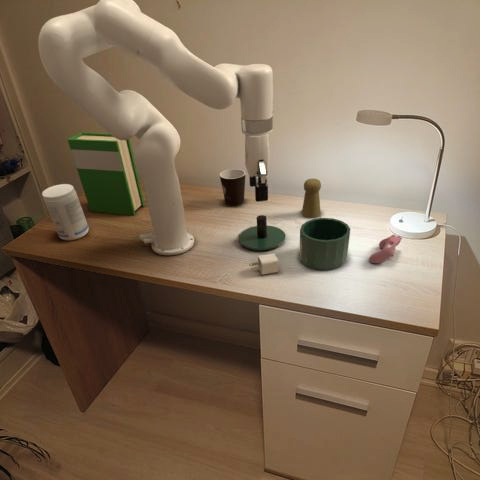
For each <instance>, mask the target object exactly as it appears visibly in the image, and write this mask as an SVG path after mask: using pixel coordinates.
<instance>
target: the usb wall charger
mask: <svg viewBox="0 0 480 480" xmlns="http://www.w3.org/2000/svg"><path fill="white" fill-rule="evenodd" d="M248 266H249V267H251V268H250V270H251V271H256V270H259V272H260V275H261V276H263V275H269V274H275V273H278V272H279V259H278V257H277V255H276V253H267V254H262V255H258V256H257V261H256V262H251V263H249V265H248Z"/></svg>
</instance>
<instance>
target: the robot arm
mask: <svg viewBox="0 0 480 480" xmlns="http://www.w3.org/2000/svg"><path fill="white" fill-rule="evenodd" d="M37 45H38V46H37V47H38V55H39V58H40V61H41V63H42V66H43V68H44V70H45V72H46V74H47V75H48V77H49V78H50V79H51V81H53V83H54V84H55V85H56V86H57V87H58V88H59V89H60V90H61V91H63V92H64V93H65V94H66V96H68V97H69V98H70V99H72V100H73V101H74V102H75V103H76V104H78V106H79V107H81V109H83V111H84V112H85V113H87V114H88V116H90V117H91V118H92V119H93V120H94V121H95V122H96V123H98V124H99V125H100V126H101V127H102V128H103V129H104V130H105V131H106V133H110V134H111V135H112V136H113V137H115V138H116V139H119V140H128V139H130V140H131V139H132V138H133V137H136V138H137V139H138V141H137V143H136V145H135V148H134V160H135V165H136V169H137V172H138V173H139V176H140V178H141V182H142V186H143V190H144V194H145V198H146V203H147V207H148V211H149V216H150V221H151V225H152V228H153V231H150V232H149V233H140V234H139V241H140V242H143V244H151V249H152V251H153V252H154V253H156V254H158V255H160V256H161V255H162V256H175V255H180V254H183V253H185V252H187V251H189V250H190V249H192V248H193V247H194V245H195V237H194V236H193V235H192V234H191V233H190V232H188V225H187V221H186V214H185V208H184V202H183V196H182V191H181V185H180V181H179V176H178V173H177V169H176V166H175V159H176V157H177V155H178V153H179V150H180V148H181V137H180V134H179V132H178V131H177V129H176V128H175V127H174V125H173V124H172V123H171V122H170V121H169V120H168V119H167V118H166V117H165V116H164V115H163V114H162V113H161V112H160V111H159V110H158V108H156V107H155V106H154V105H153V104H152V103H151V102H150V101H149V100H148V99H147V98H146V97H144V96H143V95H142V94H140V93H139V92H137V91H135V90H132V89H123V90H119V91H118V90H116V89H115V88H114V87H113V86H112V85H111V84H110V83H109V82H108V81H107V80H106V79H105V78H104V77H103V76H102V75H101V74H99V73H98V72H97V71H95V70H94V69H93V68H91V67H90V66H88V65H87V64H86V63H85V62H84V60H83V59H85V58H88V57H90V56H92V55H94V54H97V53H99V52H102V51H106V50H108V49H111V48H113V47H114V48H115V49H117V50H119V51H121V52H122V53H124V54H126V55H127V56H130V57H131V58H134V59H136V60H137V61H139V62H141V63H142V64H144V65H146V66H148V67H149V68H151V69H153V70H155V71H156V72H158V73H159V74H160V75H161V76H162V77H163V78H164V79H166V80H167V81H168V82H169V83H171V84H172V85H173V86H174V87H176V89H178V90H179V91H181V92H182V93H183V94H185V95H187V96H189V97H190V98H192V99H194V100H196V101H198V102H199V103H201V104H203V105H205V106H207V107H209V108H211V109H214V110H215V109H216V110H226V109H227V108H229V107H231V106H232V105H233V104H234V102H235V100H236V99H237V98H238V99H239V101H240V120H241V122H240V123H241V133H242V134H243V135H244V165H245V168H246V172H247V174H248V177H249V187H250V188H253V187H254V198H255V199H254V200H255V202H267V201H268V200H269V185H268V183H269V182H268V175H269V174H270V138H269V135H270V134H271V133H273V131H274V105H273V104H274V73H273V72H274V71H273V69H272V67H271V66H270V65H269V64H265V63H252V64H247V65H242V64H235V63H234V64H233V63H227V62H226V63H219V64H217V65H215V66H213V65H211V64H209V63H208V62H205V61H204V60H203V59H201V58H199V57H198V56H196V55H195V54H193V53H192V52H191V51H190V50H189V49H188V48H187V47H186V46H185V45H184V44H183V42H182V41H181V40H180V38H179V36H178V35H177V34H176V32H174V30H173V29H170V28H169V27H167V26H166V25H164V24H162V23H160V22H159V21H157V20H155V19H154V18H152V17H150V16H148V15H147V14H145V13H143V12H142V10H141V9H140V6H139V5H138V4H137V3H136V2H135V1H134V0H98V2H97V3H96V4H94V5H92V6H89V7H86V8H83V9H81V10H78V11H75V12H72V13H71V12H70V13H68V14H62V15H58V16H55V17H53V18H50V19H48V20H47V21H46V22H45V23H44V24H43V25H42V27H41V28H40V31H39V34H38V40H37Z"/></svg>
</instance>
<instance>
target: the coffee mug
mask: <svg viewBox="0 0 480 480" xmlns="http://www.w3.org/2000/svg"><path fill="white" fill-rule="evenodd" d="M246 172H247V171H245V170H243V169H240V168H230V169H225V170H223V171H220V173H219V179H220V184H221V188H222V193H223V197H224V202H225V205H226V206H227V207H240V206H242V205H243V204H244V203H245V191H246V190H245V189H246Z"/></svg>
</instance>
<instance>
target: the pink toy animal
mask: <svg viewBox="0 0 480 480" xmlns="http://www.w3.org/2000/svg"><path fill="white" fill-rule="evenodd" d="M402 240H403V237H402V236H400V235H398V234H396V233H394V234H392V235H390V236H388V237H386V238H384V239H382V240H380V241H379V242H378V246H379V248H381V250H378V251H377V252H374V253H372V254H370V256H369V258H368V259H369V260H368V261H369V262H370V263H373V264H377V263H381V262H384V261H387V260H388V259H389V258H393V257H395V254H396V253H395V251H396V247H398V246H399V244H400V243H401V241H402Z"/></svg>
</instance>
